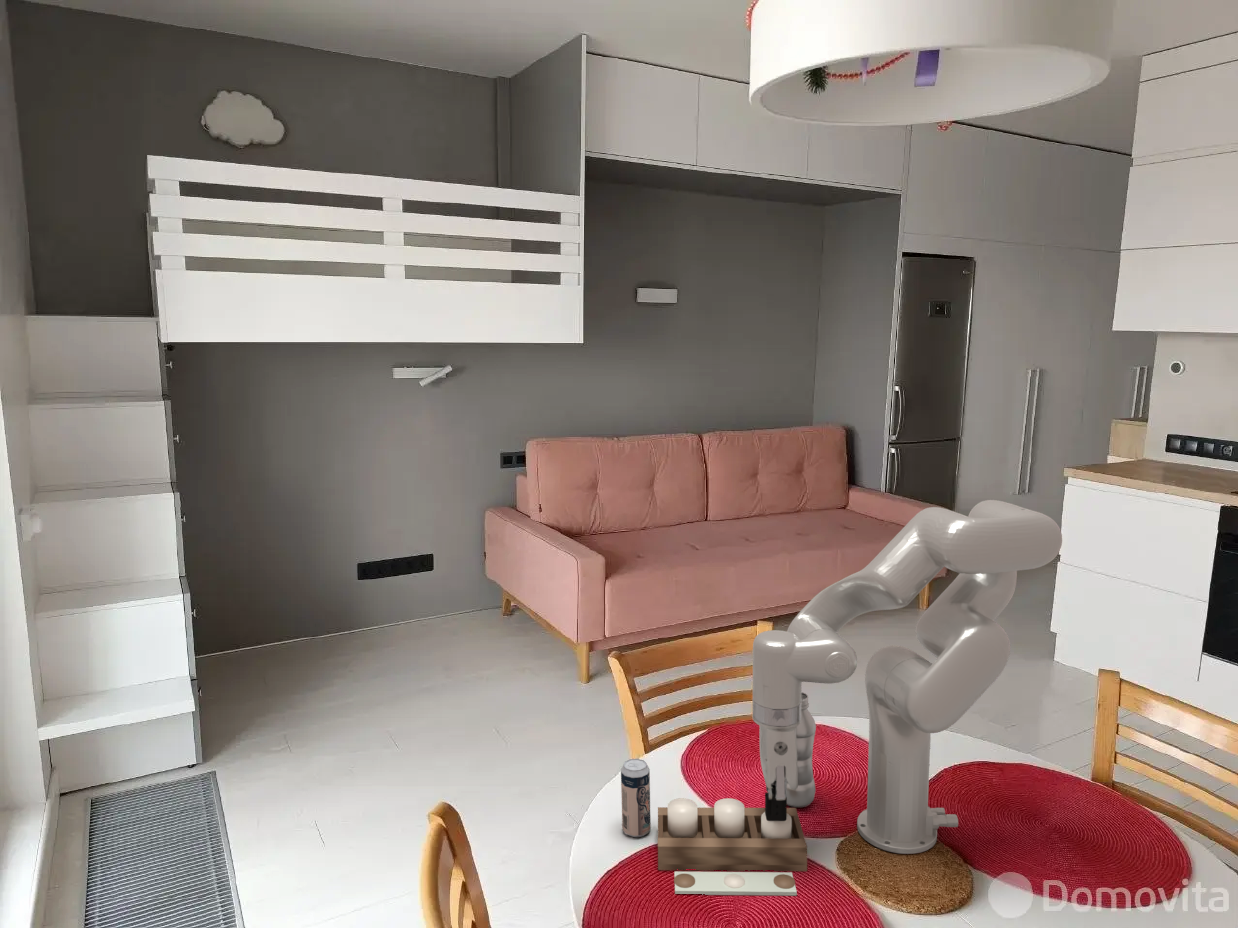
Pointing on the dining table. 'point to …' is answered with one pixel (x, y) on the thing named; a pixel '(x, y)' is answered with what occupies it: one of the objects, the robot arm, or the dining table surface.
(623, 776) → the beer can
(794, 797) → the plastic bottle
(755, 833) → the wooden compartment tray
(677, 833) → the button
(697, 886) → the card
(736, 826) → the button mid
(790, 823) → the button
